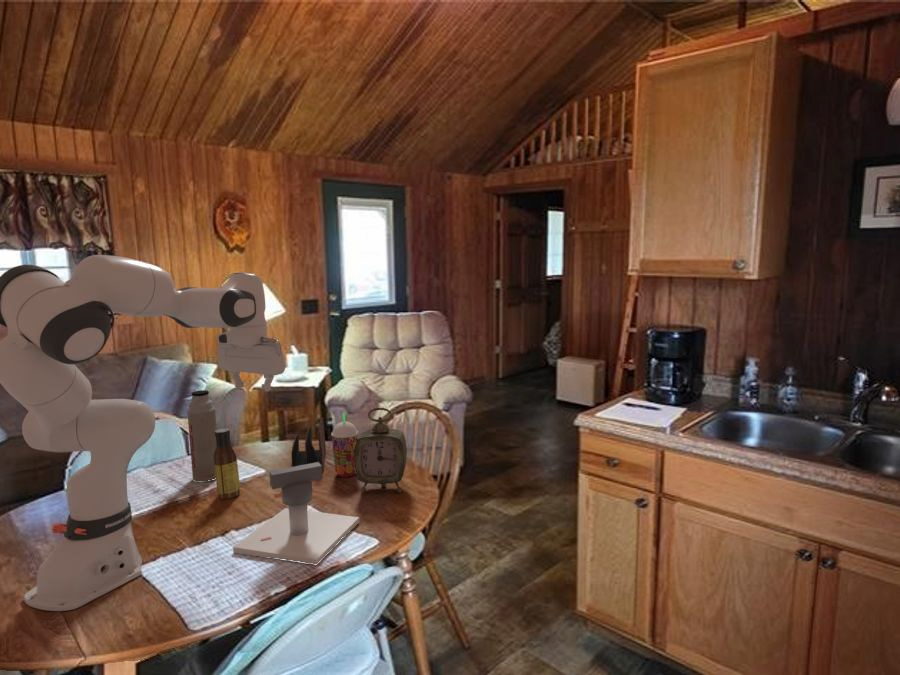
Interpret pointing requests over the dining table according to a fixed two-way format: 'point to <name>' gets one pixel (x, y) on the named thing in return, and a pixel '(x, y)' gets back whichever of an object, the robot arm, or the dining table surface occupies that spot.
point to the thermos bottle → (202, 436)
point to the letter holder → (309, 449)
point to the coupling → (295, 483)
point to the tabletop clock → (380, 454)
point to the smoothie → (344, 447)
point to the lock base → (297, 535)
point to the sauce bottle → (226, 466)
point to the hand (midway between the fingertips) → (252, 389)
